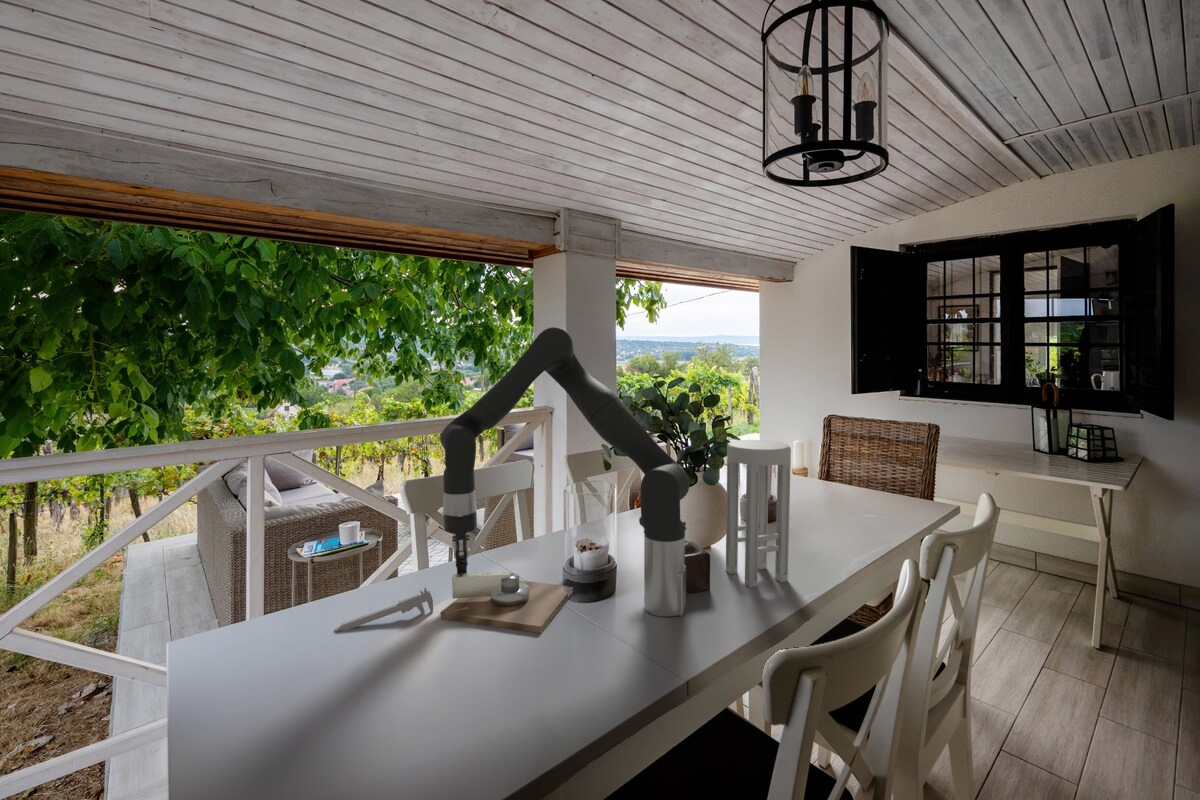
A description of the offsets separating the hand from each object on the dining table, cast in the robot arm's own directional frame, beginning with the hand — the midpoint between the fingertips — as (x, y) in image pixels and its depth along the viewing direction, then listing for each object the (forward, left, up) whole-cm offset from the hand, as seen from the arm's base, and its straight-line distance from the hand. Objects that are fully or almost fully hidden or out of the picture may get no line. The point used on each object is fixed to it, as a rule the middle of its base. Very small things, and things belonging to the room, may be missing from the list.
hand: (462, 580), depth 135 cm
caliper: (+12, +13, -6) cm, 18 cm away
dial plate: (-12, -1, -5) cm, 13 cm away
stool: (-67, -34, -5) cm, 75 cm away
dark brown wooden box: (-47, -22, -5) cm, 52 cm away
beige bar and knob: (-8, 0, -3) cm, 8 cm away
